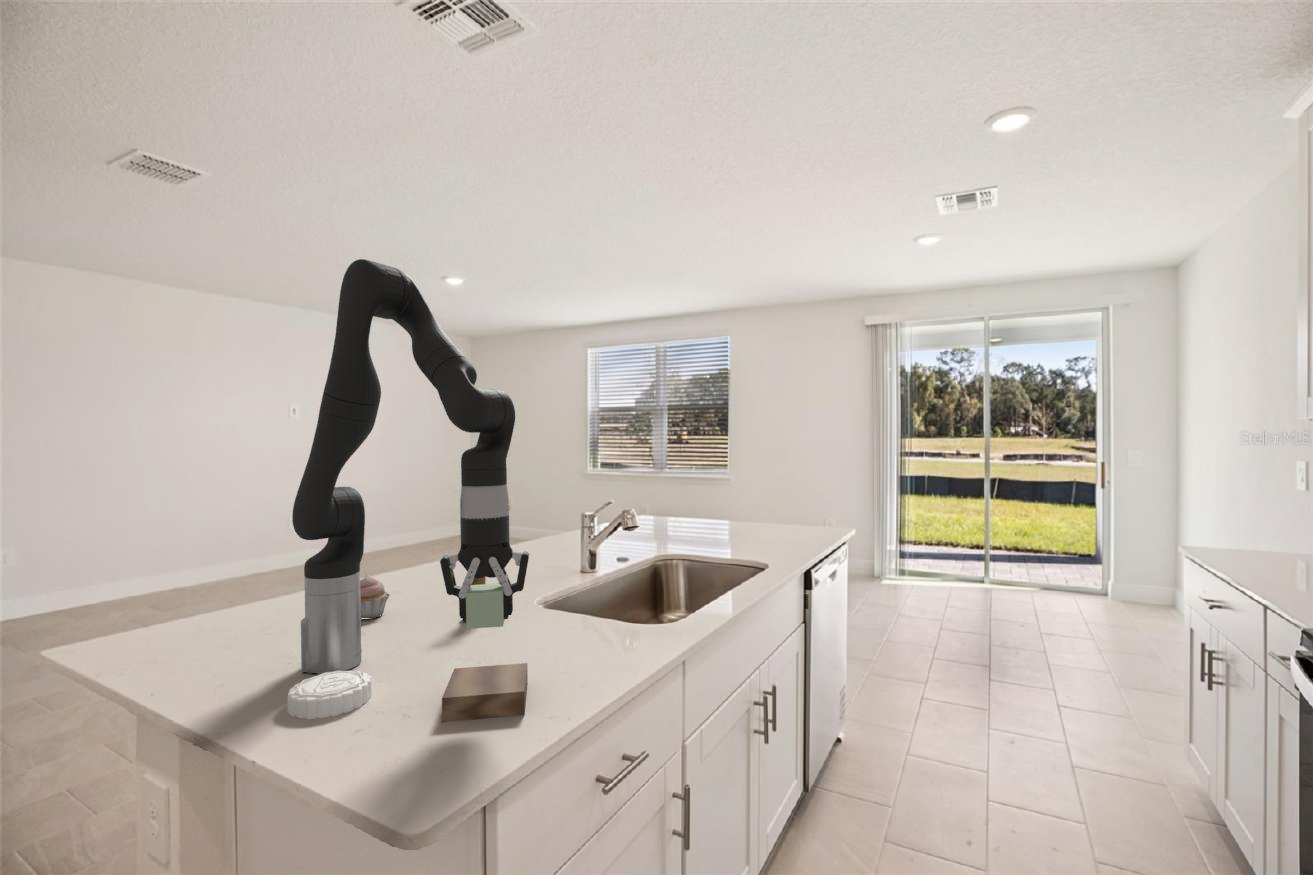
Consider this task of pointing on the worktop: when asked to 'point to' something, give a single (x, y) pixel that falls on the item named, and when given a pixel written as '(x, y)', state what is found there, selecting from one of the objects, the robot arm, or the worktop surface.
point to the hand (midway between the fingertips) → (486, 618)
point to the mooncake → (329, 694)
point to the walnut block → (485, 692)
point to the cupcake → (372, 597)
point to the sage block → (484, 606)
